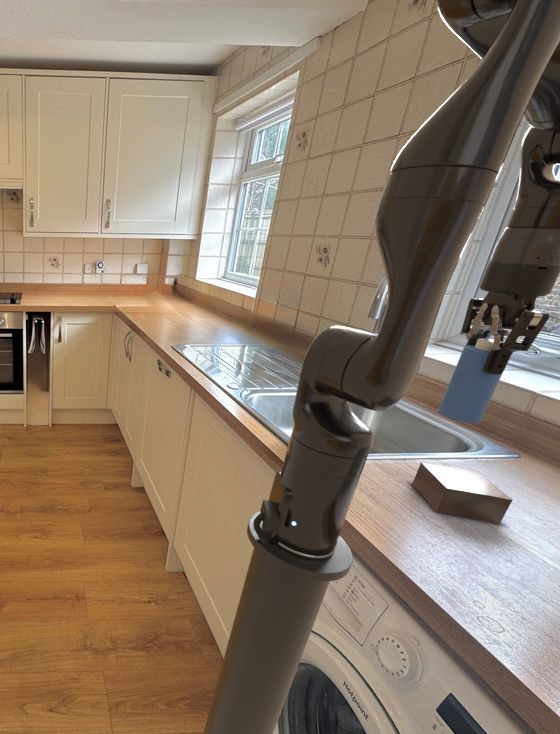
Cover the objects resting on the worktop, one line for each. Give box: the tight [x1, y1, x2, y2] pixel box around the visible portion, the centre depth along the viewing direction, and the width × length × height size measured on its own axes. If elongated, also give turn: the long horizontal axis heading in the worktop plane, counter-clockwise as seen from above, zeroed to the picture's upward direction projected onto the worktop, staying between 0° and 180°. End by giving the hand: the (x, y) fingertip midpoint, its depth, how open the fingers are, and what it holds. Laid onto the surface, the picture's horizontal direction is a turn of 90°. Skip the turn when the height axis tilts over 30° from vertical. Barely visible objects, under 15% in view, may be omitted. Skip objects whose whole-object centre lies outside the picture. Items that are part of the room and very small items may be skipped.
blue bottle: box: [437, 338, 505, 424], centre depth 68 cm, size 5×5×14 cm
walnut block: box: [411, 462, 513, 525], centre depth 74 cm, size 9×9×5 cm
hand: (480, 367), depth 67 cm, fingers closed on blue bottle, 5 cm apart
